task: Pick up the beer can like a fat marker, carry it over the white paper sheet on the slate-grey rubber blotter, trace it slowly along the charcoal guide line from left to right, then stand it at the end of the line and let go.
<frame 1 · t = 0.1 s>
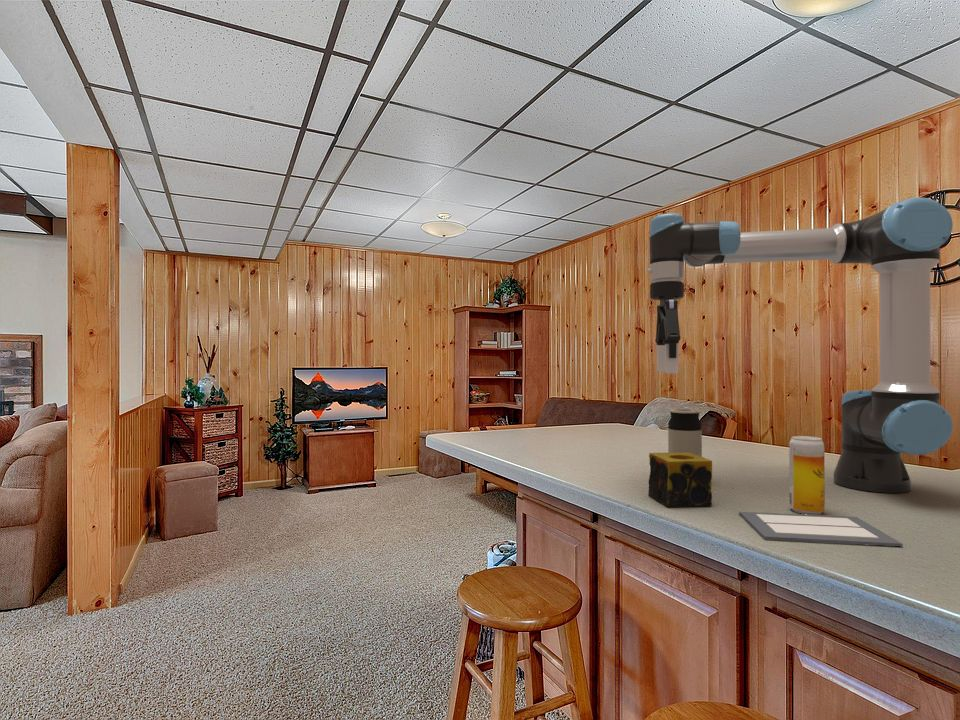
hand: (667, 372, 125), 28 cm above the worktop, fingers open, 13 cm apart
travel mug: (684, 480, 136), on the worktop
beer can: (806, 512, 108), on the worktop
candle: (679, 502, 117), on the worktop
blotter: (813, 529, 97), on the worktop
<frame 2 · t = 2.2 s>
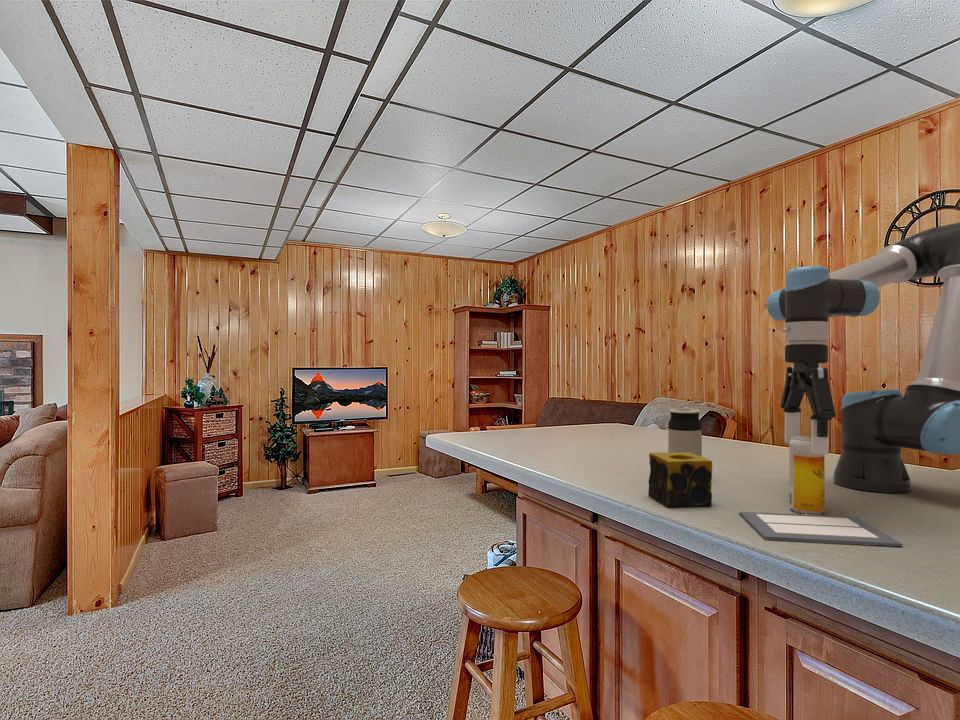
hand: (805, 448, 108), 13 cm above the worktop, fingers open, 13 cm apart
nothing on the worktop moved.
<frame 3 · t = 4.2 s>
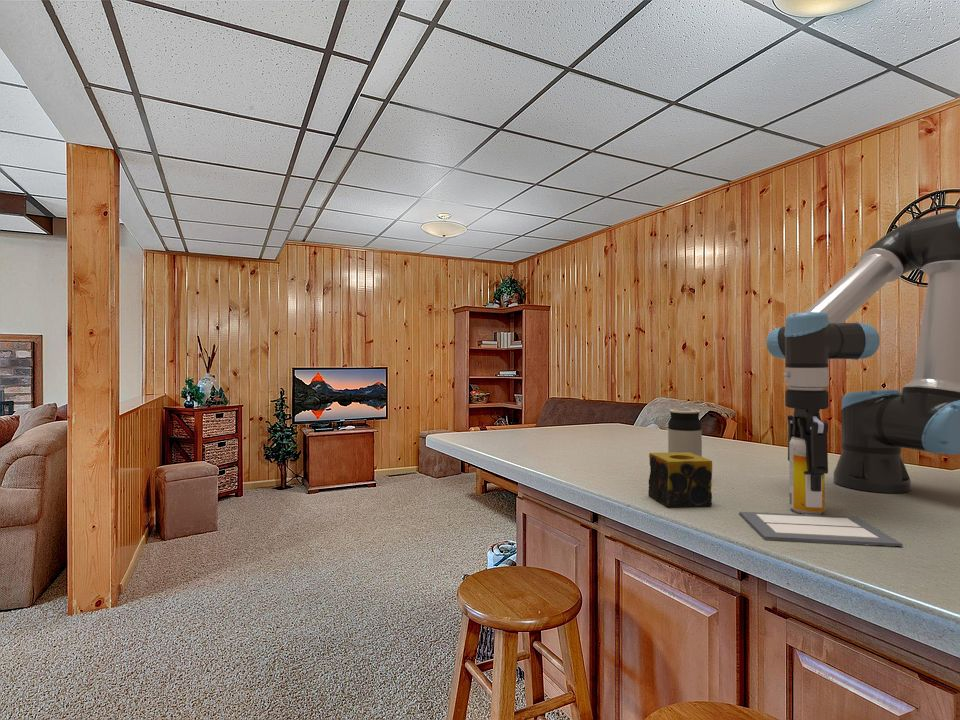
hand: (806, 502, 108), 2 cm above the worktop, fingers closed on beer can, 6 cm apart
beer can: (806, 512, 108), on the worktop, touching gripper
everything else where it was.
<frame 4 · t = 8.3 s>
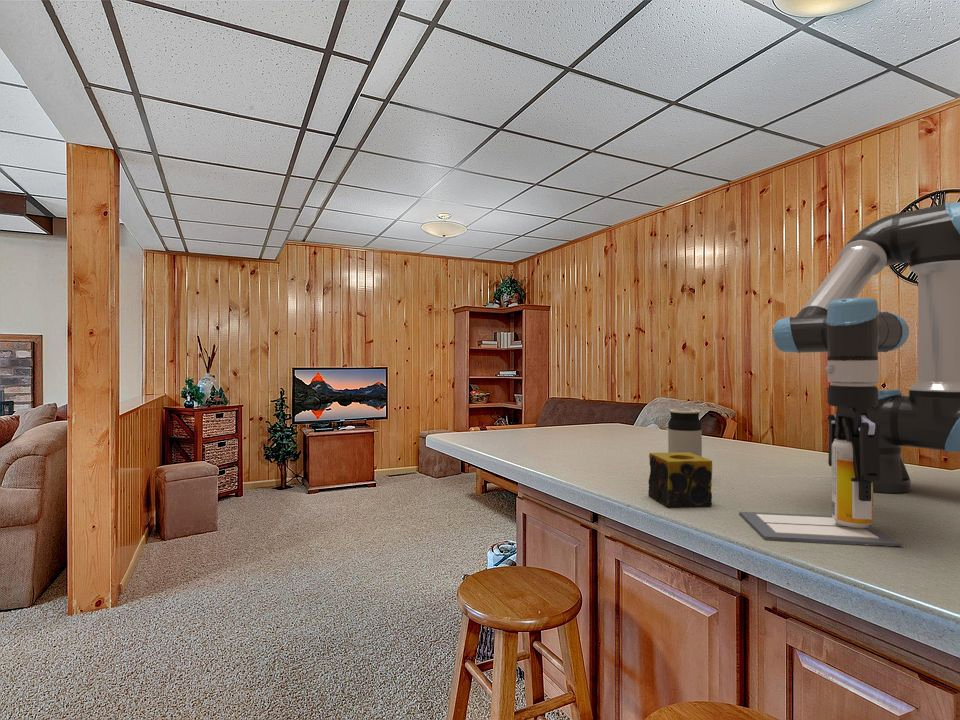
hand: (852, 512, 96), 3 cm above the worktop, fingers closed on beer can, 6 cm apart
beer can: (852, 524, 96), point 1 cm above the worktop, touching gripper
everything else where it was.
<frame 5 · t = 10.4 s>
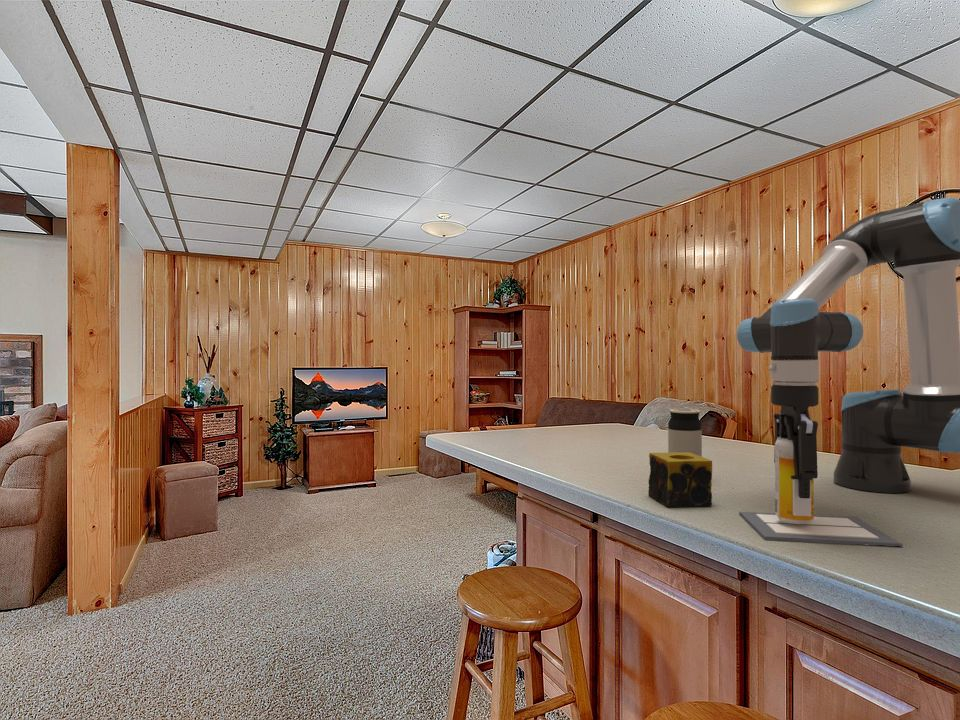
hand: (794, 509, 98), 3 cm above the worktop, fingers closed on beer can, 6 cm apart
beer can: (794, 521, 98), point 1 cm above the worktop, touching gripper
everything else where it was.
when the fingers open (3 cm above the worktop, at t = 12.4 s): beer can stays where it is, resting on blotter.
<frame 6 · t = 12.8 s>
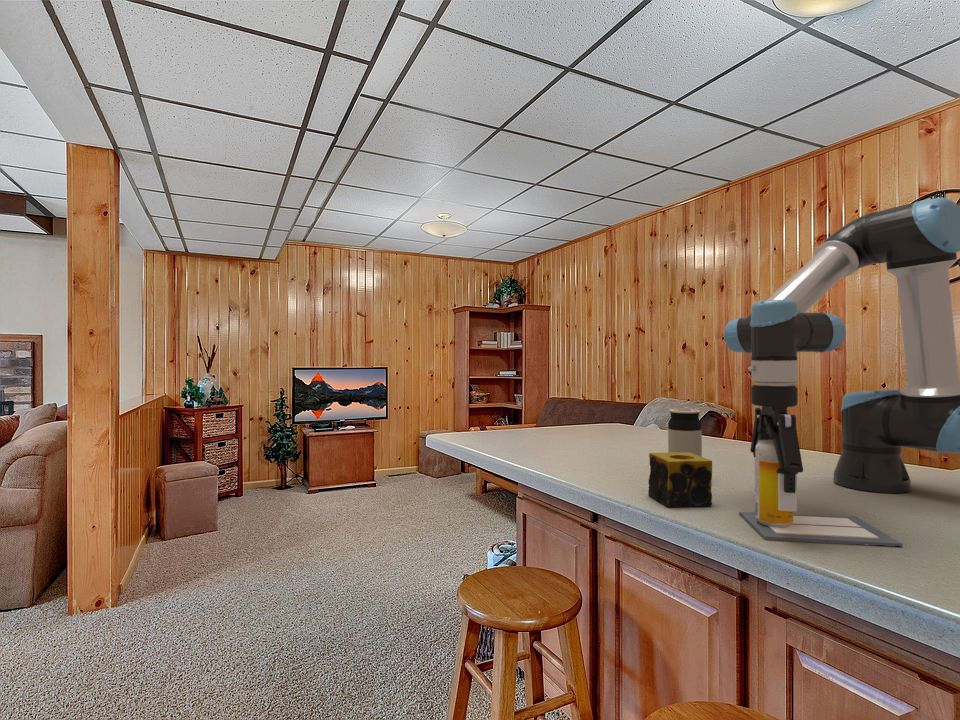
hand: (774, 500, 98), 5 cm above the worktop, fingers open, 12 cm apart
beer can: (774, 524, 98), point 1 cm above the worktop, touching blotter
everything else where it was.
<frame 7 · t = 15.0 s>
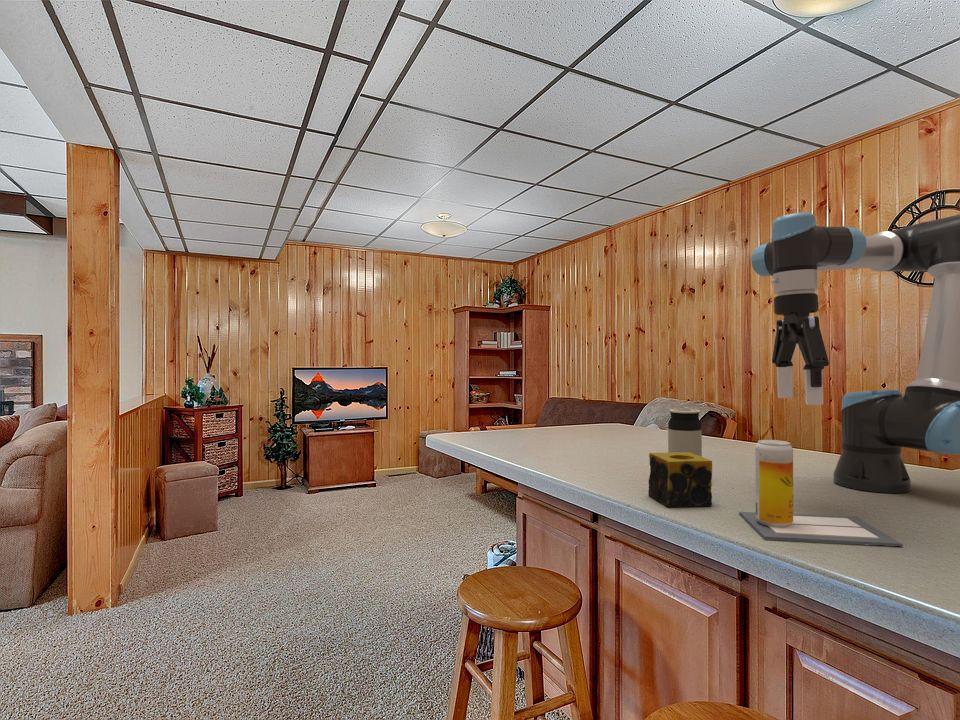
hand: (799, 401, 106), 23 cm above the worktop, fingers open, 13 cm apart
nothing on the worktop moved.
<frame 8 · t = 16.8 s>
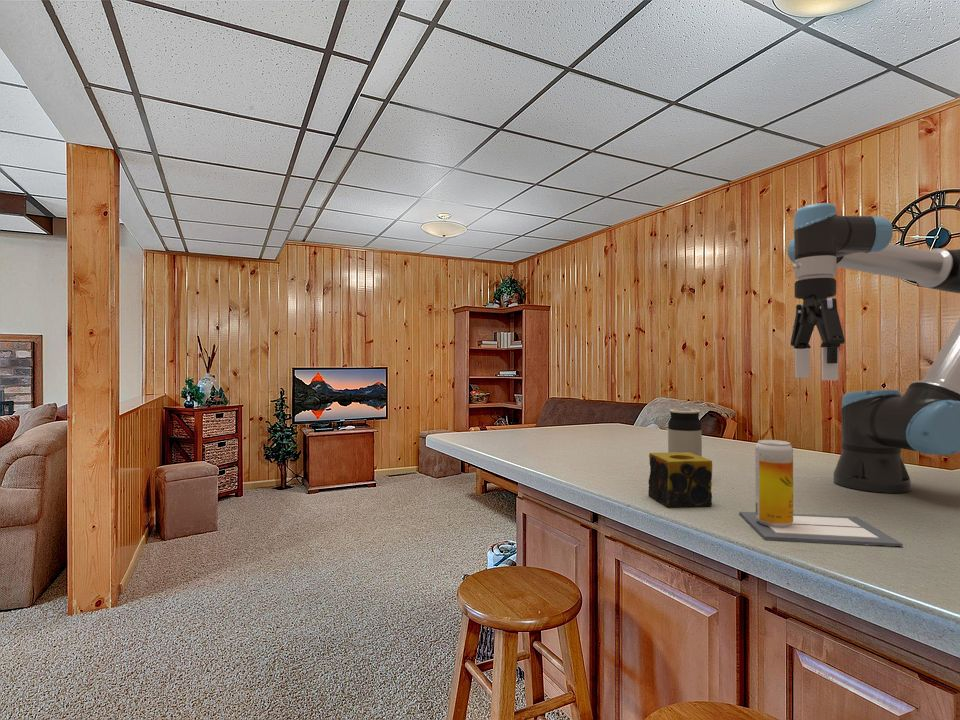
hand: (815, 379, 113), 27 cm above the worktop, fingers open, 13 cm apart
nothing on the worktop moved.
at the end: beer can inside the target area (0.2 cm from its centre), point 0.6 cm above the worktop; beer can tilted 0°; the gripper is holding nothing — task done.
